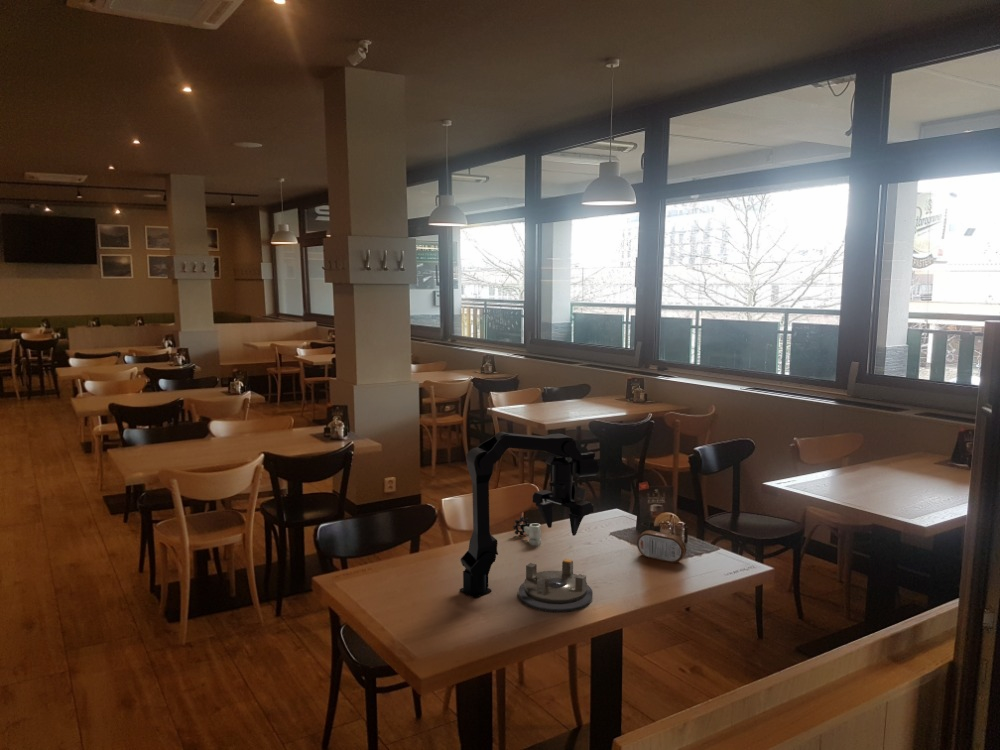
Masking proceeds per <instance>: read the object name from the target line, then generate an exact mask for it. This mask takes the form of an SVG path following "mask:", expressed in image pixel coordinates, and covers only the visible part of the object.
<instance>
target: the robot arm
mask: <svg viewBox="0 0 1000 750" xmlns="http://www.w3.org/2000/svg"><path fill="white" fill-rule="evenodd" d="M508 449H517V450H518V449H519V450H527V451H528V450H529V451H530V450H531V451H543V452H547V453H550V456H549V457H548V458H547V459H545V463H546V464H548V465H550V466H552V481H550V482H549V486H550V487H552V489H551V490H552V491H551V490H549V489H548V490H547V489H543V490H540V491H536V492H534V493H533V495H532V499H531V500H532V503H534V504H535V506H536V507H537V508H538V510H539V512H540V513H541V515H542V517H543V520H544V522H545V524H546V526H547V528H548V529H550V528H552V526H553V514H554V513H553V511H554V507H555V504H556V505H558V506H562V507H566V508H569V512H570V513H569V514H568V515H569V523H570V531H571V534H572V536H576V535H577V532H578V530H579V528H580V526H581V523H582V520H583V519H584V517H585V516H588V515H589V514H591V513H594V504H593V502H592V501H587V500H585V497H586V492H587V488H582V487H580V486H577V483H576V481H574V480H573V479H574V478H573V476H575V477H577V478H581V477H590V476H592V477H593V476H596V475H598V474H599V469H600V467H599V466H600V465H599V463H598V460H597V458H596V453H595V452H593V451H587V452H580V451H579V449H578V448H577V443H576V441H575V439H574V438H573V437H572V436H571V437H570V436H568V435H565V434H562V433H550V434H546V435H535V434H533V435H532V434H523V433H522V434H520V433H511V432H504V431H499V432H497V433H496V434H495V435H493V436H492V437H491V438H488V439H487V440H485V441H483V442H481V443H480V444H479V445H478V446H476V447H473V448H471V449H469V451H468V452H467V453H466V456H465V459H466V460H465V461H466V466H467V471H468V473H469V477H470V479H471V483H472V485H471V487H472V488H471V489H472V523H473V524H472V525H473V526H472V527H473V529H472V530H473V531H472V534H471V536H470V539H469V544H468V550H467V551H466V552H465V553H464V555H463V556H461V557H460V562H461V565H462V566H463V567H464V570H463V571H462V585H463V587H461V588H459V592H461V593H463V594H464V595H467V596H469V597H471V598H474V599H476V598H478V597H481V596H483V595H486V594H488V593H491V592H492V588H489V573H490V571H491V569H492V568H491V567H492V565H493V563H495V562H496V559H497V556H498V555H499V553H498V539H497V538H495V537H494V536H493V535H492V534H491V526H490V525H491V522H490V520H491V519H490V480H491V479H492V476H493V473H494V465H495V464H496V463H497V462H498V461H500V459H501V458H502V456H504V454H505V452H506V451H508ZM553 454H554V455H553ZM555 455H557V456H558V457H557V456H555ZM577 499H580V500H578V501H575V500H577Z"/></svg>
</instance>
